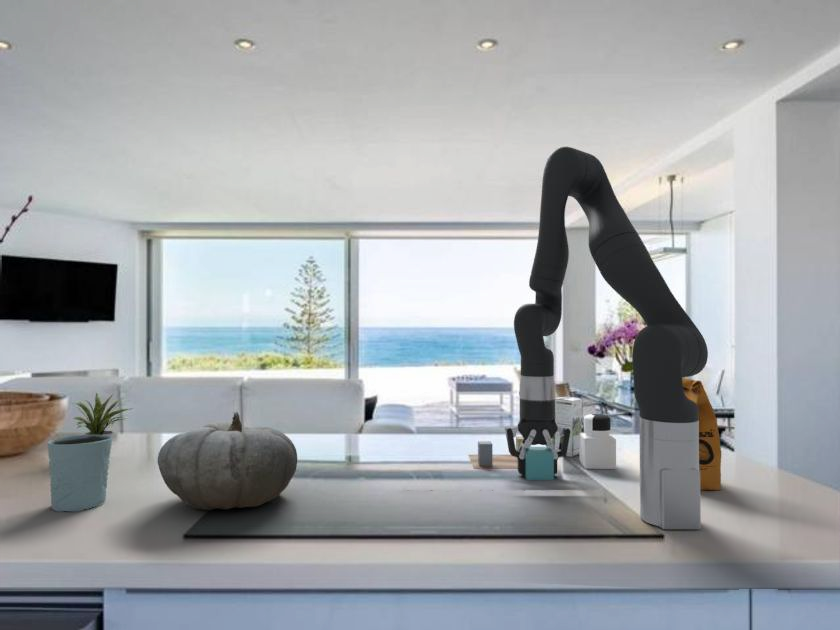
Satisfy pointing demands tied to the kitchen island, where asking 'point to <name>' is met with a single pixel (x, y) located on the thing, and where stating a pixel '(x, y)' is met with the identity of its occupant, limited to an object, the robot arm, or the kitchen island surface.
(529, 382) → the robot arm
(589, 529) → the kitchen island surface
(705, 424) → the coffee package
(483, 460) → the post slate
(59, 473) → the blue planter pot
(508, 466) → the board
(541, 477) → the teal foam cube
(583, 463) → the medicine bottle
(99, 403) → the house plant
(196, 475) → the gourd
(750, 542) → the kitchen island surface
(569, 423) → the syrup box
